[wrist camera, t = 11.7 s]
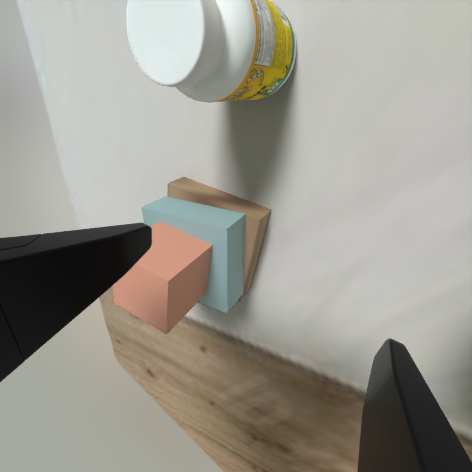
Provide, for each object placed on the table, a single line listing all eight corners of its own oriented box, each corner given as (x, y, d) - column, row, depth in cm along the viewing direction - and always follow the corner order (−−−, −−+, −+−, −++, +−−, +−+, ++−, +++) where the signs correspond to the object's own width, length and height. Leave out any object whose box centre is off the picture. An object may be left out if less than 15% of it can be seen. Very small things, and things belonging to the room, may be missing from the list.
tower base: (273, 207, 23) (260, 220, 21) (253, 284, 28) (240, 301, 26) (188, 175, 26) (167, 183, 24) (182, 250, 31) (165, 263, 28)
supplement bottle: (301, -5, 16) (215, -94, 8) (295, 98, 18) (226, 101, 11) (221, 13, 18) (98, -45, 11) (226, 102, 20) (129, 106, 13)
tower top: (245, 213, 21) (227, 228, 19) (243, 293, 25) (227, 313, 23) (166, 196, 24) (141, 207, 22) (174, 269, 28) (154, 285, 26)
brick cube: (212, 244, 20) (168, 281, 16) (205, 293, 23) (166, 334, 19) (160, 221, 22) (108, 249, 18) (159, 268, 24) (114, 302, 20)
